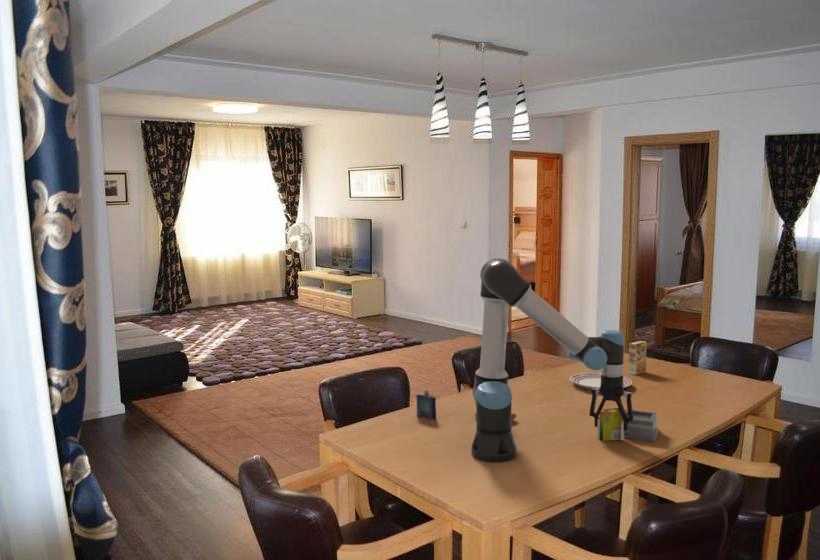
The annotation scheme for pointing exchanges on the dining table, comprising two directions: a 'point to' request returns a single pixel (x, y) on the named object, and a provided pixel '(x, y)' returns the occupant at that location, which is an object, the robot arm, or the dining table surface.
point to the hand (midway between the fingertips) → (610, 437)
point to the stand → (642, 426)
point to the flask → (426, 405)
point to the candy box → (637, 357)
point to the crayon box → (610, 424)
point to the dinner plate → (593, 380)
